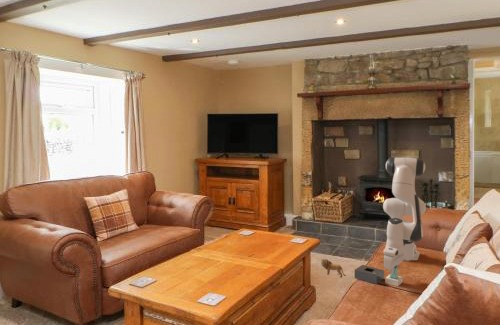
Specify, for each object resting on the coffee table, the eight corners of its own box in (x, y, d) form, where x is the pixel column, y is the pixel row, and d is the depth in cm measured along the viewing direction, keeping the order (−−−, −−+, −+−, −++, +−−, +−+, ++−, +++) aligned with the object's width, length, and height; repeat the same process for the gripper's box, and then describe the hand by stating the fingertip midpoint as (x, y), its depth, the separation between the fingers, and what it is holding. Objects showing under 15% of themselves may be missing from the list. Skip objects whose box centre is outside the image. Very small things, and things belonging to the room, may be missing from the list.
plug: (392, 279, 219) (392, 264, 218) (397, 281, 217) (398, 265, 216) (390, 281, 217) (390, 265, 216) (395, 283, 215) (396, 267, 214)
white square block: (390, 279, 222) (390, 274, 221) (402, 282, 217) (402, 277, 217) (385, 283, 216) (385, 277, 216) (397, 286, 212) (398, 281, 212)
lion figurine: (319, 274, 229) (319, 259, 228) (321, 271, 234) (322, 256, 233) (345, 278, 223) (345, 263, 222) (346, 275, 228) (347, 260, 227)
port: (362, 273, 231) (362, 264, 230) (383, 278, 223) (384, 269, 222) (354, 278, 223) (354, 269, 223) (376, 284, 215) (376, 274, 214)
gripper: (396, 242, 225) (395, 265, 226) (381, 251, 209) (381, 276, 211) (407, 244, 221) (406, 268, 222) (393, 254, 205) (392, 279, 207)
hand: (394, 272), depth 216 cm, fingers closed on plug, 3 cm apart
